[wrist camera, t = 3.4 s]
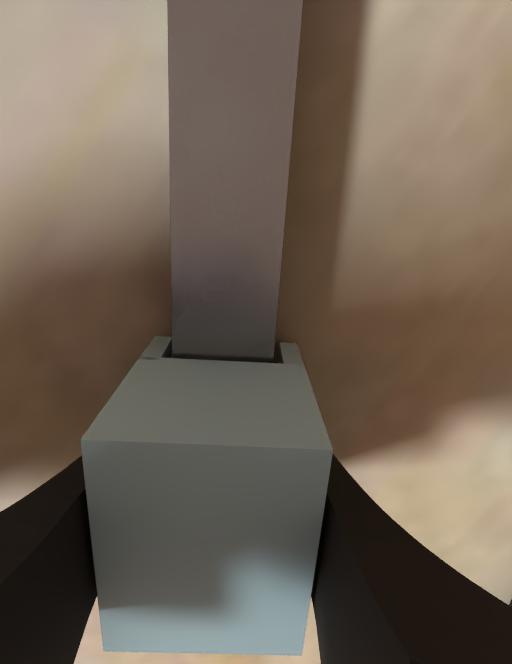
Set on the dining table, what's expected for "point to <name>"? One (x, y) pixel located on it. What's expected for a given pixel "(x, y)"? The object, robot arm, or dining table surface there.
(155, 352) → the carriage
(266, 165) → the rail
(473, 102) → the dining table surface
